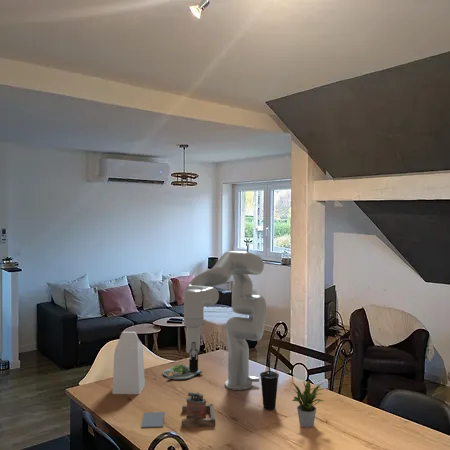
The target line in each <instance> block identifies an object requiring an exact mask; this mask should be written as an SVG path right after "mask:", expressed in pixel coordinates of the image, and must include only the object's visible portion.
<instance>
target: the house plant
mask: <svg viewBox="0 0 450 450" xmlns="http://www.w3.org/2000/svg"><path fill="white" fill-rule="evenodd" d="M292 384H293V386H294V388H295V389H296V390H295V389H294V388H293V389H292V390H293V391H294V392H295V394H297V395H296V396H293V399H292V401H291V402H298V403H299V404H298V405H297V407H296V409H297V415H298V423H299V426H301V427H302V428H308V429H309V428H310V429H311V428H312V427H314V426H315V419H316V414H317V413H316V412H317V407H316V405H317V404H318V403H319V402H323V403H324V401H326V400H325V399H319V398H317V396H318V395H323V393H322V392H321V393H319V391H322V390H323V388H321V385H323V384H324V383H320V384H318V385H316V387H313V388H311V381H310V380H309V379H308V380H307V381H306V383H305V382H303V385H304V391H303V392H302V391H301V390H300V388H299V386H297V385H296V384H295V383H294V382H292ZM316 398H317V399H316ZM314 403H315V404H314Z"/></svg>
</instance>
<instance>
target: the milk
mask: <svg viewBox="0 0 450 450" xmlns="http://www.w3.org/2000/svg"><path fill="white" fill-rule="evenodd" d="M144 364H145V361H144V346H143V343H142V341H141V340H140V339H139V337H138V334H137V332H136V331H122V332H121V334H120V335H119V339H118V340H117V344H116V347H115V349H114V353H113V374H112V393H111V394H112V395H140V394H141V392H142V390H143V388H144V387H145V385H146V382H145V365H144Z"/></svg>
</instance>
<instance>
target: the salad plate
mask: <svg viewBox="0 0 450 450" xmlns="http://www.w3.org/2000/svg"><path fill="white" fill-rule="evenodd" d="M171 372H172V375H170V373H171ZM202 373H203V371H201V369H200V368H198V370H190V369H189V365H186V364H175V365H174V366H172V367H169V368H166V369H164V370H163V371H162V375H163V376H164V377H166V379H168V380H169V379H171V380H188V379H189V380H190V378H191V379H192V378H194V377H196V376H198V375H200V374H202Z"/></svg>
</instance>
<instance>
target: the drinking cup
mask: <svg viewBox="0 0 450 450" xmlns="http://www.w3.org/2000/svg"><path fill="white" fill-rule="evenodd" d="M259 376H260V383H261V385H260V386H261V393H262V394H261V396H262V405H263V406H262V407H263V409H264V410H267V411H273V410H275V409H276V404H277V394H278V393H277V392H278V381H279V377H280V374H279V373H278V372H276V371H272V370H271V358H269V359H268V370H265V371H263V372H262V371H261V372H260V374H259Z"/></svg>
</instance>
